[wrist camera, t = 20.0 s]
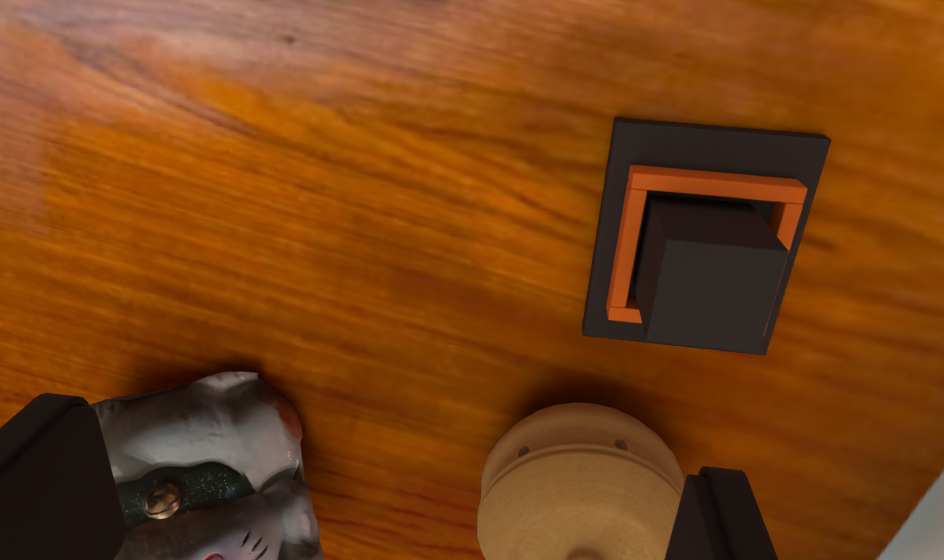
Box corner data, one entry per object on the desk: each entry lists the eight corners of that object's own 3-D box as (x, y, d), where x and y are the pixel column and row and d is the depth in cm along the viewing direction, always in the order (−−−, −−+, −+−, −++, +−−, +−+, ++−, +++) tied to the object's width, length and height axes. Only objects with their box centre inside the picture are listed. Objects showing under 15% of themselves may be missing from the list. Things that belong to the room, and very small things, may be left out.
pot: (462, 485, 44) (438, 619, 35) (525, 347, 38) (516, 463, 30) (625, 541, 44) (642, 688, 35) (709, 413, 39) (754, 546, 30)
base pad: (614, 117, 32) (618, 128, 30) (824, 134, 31) (844, 147, 29) (581, 327, 37) (583, 350, 35) (760, 346, 37) (773, 371, 34)
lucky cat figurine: (305, 356, 40) (308, 595, 32) (328, 444, 50) (335, 648, 41) (43, 386, 38) (-32, 651, 29) (118, 472, 47) (78, 694, 39)
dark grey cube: (648, 193, 33) (666, 239, 27) (751, 203, 32) (790, 251, 27) (631, 282, 35) (645, 341, 29) (727, 292, 34) (759, 353, 29)
